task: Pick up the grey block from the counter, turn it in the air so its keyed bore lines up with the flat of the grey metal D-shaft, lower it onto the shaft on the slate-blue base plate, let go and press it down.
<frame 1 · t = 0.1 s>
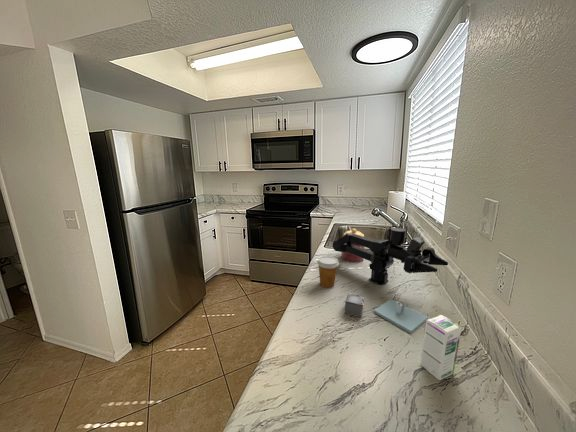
hand: (442, 267, 89), 17 cm above the worktop, tool horizontal, fingers open, 9 cm apart
d shaft: (400, 308, 87), on the shaft plate, point 3 cm above the worktop
syrup box: (436, 369, 65), on the worktop
grey block: (354, 310, 90), on the worktop
disposable coffee cup: (327, 284, 110), on the worktop
canister: (352, 258, 139), on the worktop
shaft plate: (400, 315, 87), on the worktop
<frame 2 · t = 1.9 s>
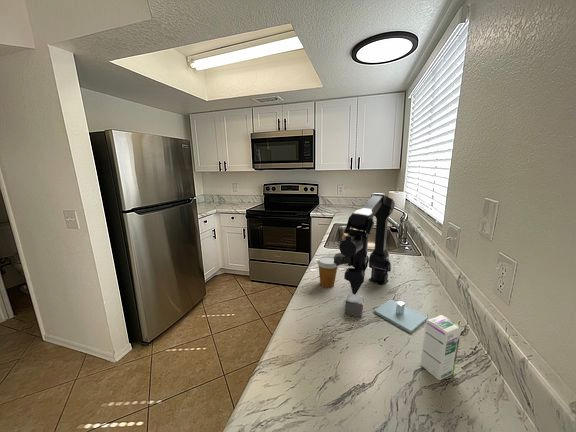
hand: (355, 287, 88), 9 cm above the worktop, tool pointing down, fingers open, 9 cm apart
nothing on the worktop moved.
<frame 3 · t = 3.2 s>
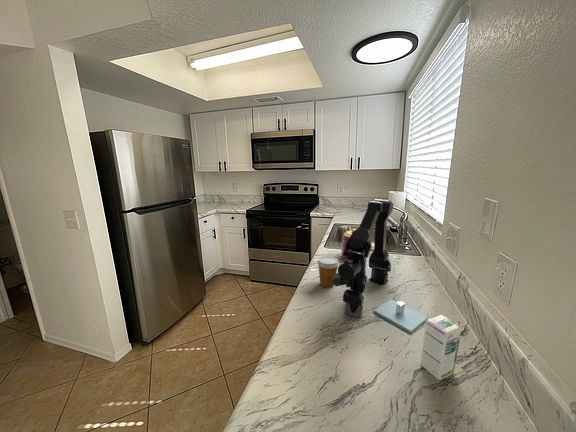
hand: (354, 307, 90), 1 cm above the worktop, tool pointing down, fingers closed on grey block, 6 cm apart
grey block: (354, 310, 90), on the worktop, touching gripper
everything else where it was.
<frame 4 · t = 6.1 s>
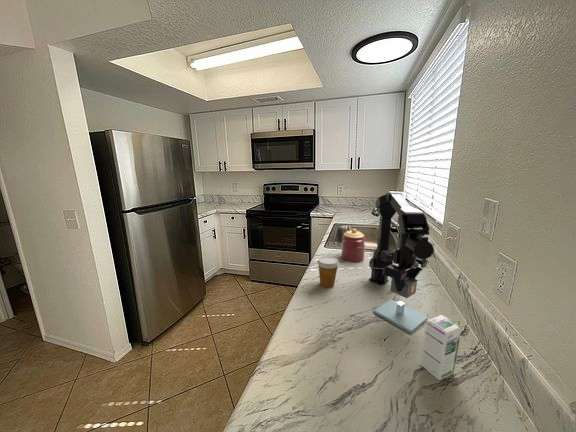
hand: (403, 288, 85), 11 cm above the worktop, tool pointing down, fingers closed on grey block, 6 cm apart
grey block: (402, 291, 85), point 10 cm above the worktop, touching gripper
everything else where it was.
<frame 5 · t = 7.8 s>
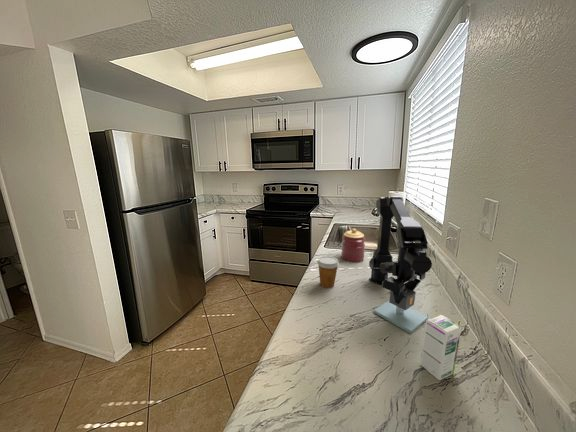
hand: (401, 300, 86), 6 cm above the worktop, tool pointing down, fingers closed on grey block, 6 cm apart
grey block: (401, 303, 86), point 5 cm above the worktop, touching gripper
everything else where it was.
when the fingers open (3 cm above the worktop, at t = 9.1 s): grey block stays where it is, resting on shaft plate.
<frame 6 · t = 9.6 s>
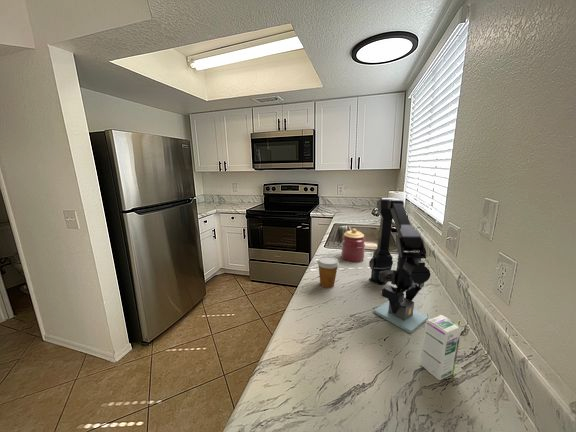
hand: (400, 308, 87), 3 cm above the worktop, tool pointing down, fingers open, 9 cm apart
grey block: (400, 313, 87), point 1 cm above the worktop, touching shaft plate
everything else where it was.
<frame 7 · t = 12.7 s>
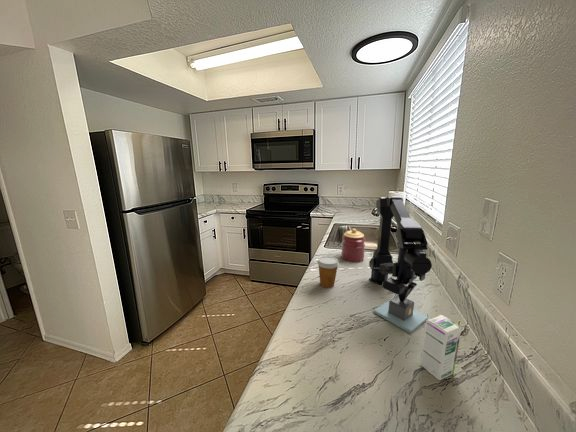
hand: (401, 301, 86), 6 cm above the worktop, tool pointing down, fingers closed, pressing on grey block
grey block: (400, 313, 87), point 1 cm above the worktop, touching gripper, shaft plate
everything else where it was.
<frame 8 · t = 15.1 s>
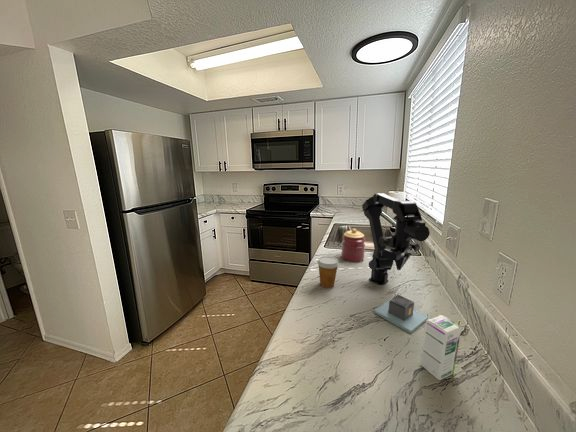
hand: (398, 269, 97), 12 cm above the worktop, tool pointing down, fingers closed
grey block: (400, 313, 87), point 1 cm above the worktop, touching shaft plate
everything else where it was.
at the end: grey block 0.0 cm off-centre on the shaft plate, point 1.0 cm above the shaft plate's base; grey block tilted 0°; the gripper is holding nothing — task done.
